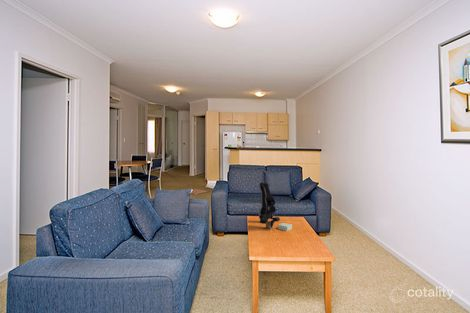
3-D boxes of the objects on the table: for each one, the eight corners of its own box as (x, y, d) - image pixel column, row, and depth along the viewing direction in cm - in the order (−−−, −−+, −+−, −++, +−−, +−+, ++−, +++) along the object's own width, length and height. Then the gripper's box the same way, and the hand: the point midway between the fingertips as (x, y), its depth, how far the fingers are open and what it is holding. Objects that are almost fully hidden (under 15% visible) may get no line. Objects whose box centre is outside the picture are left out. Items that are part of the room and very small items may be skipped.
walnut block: (265, 228, 236) (265, 221, 236) (268, 227, 240) (268, 220, 239) (270, 229, 233) (270, 222, 233) (272, 228, 237) (272, 221, 237)
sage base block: (278, 229, 235) (278, 224, 235) (283, 227, 242) (283, 222, 242) (287, 231, 230) (287, 226, 229) (291, 228, 236) (291, 224, 236)
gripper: (255, 210, 235) (255, 227, 235) (274, 213, 224) (274, 231, 224) (262, 208, 244) (261, 224, 244) (280, 211, 233) (279, 228, 233)
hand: (269, 227), depth 236 cm, fingers closed on walnut block, 4 cm apart
